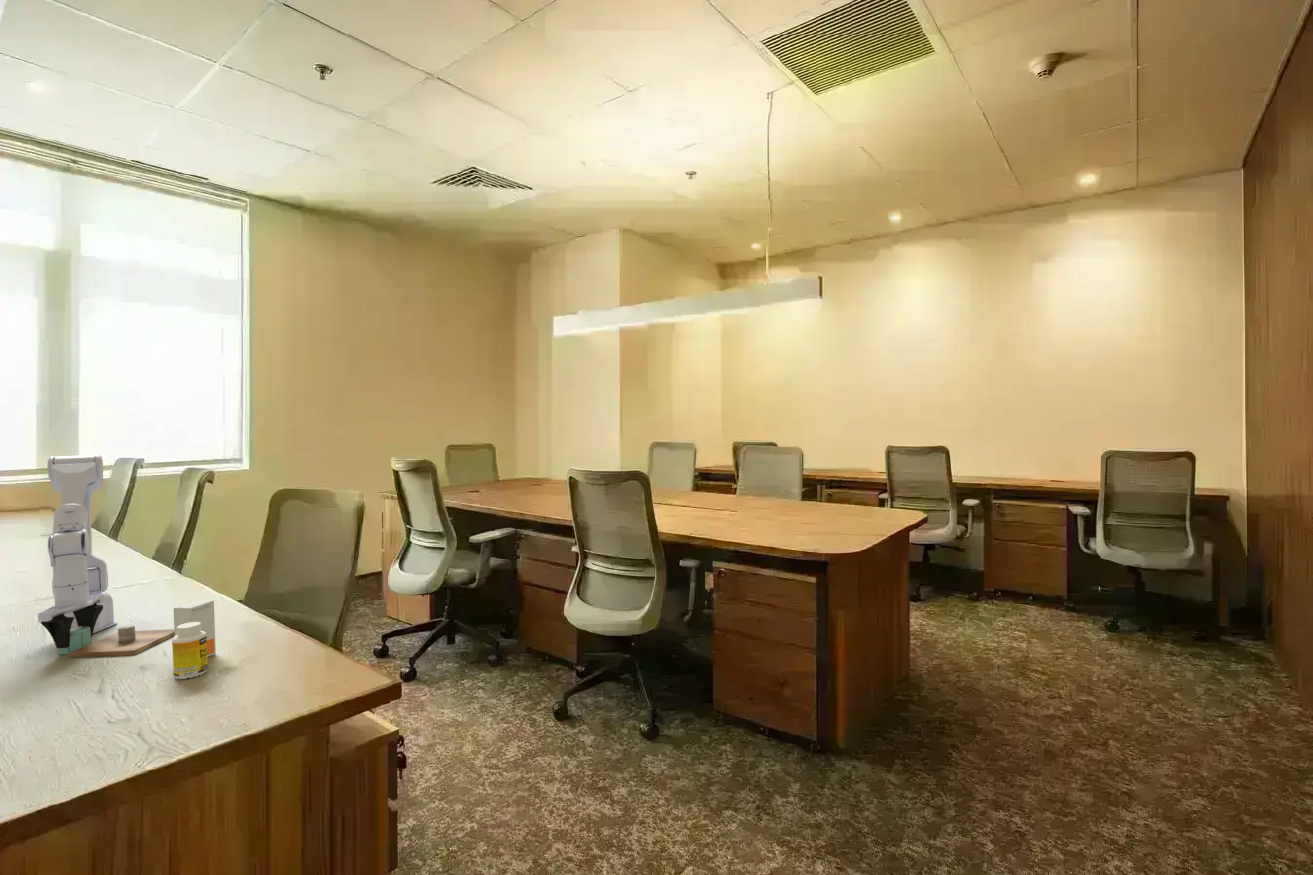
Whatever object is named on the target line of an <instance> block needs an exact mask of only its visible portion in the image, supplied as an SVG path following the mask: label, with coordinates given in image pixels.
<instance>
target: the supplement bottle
mask: <svg viewBox="0 0 1313 875" xmlns="http://www.w3.org/2000/svg"><path fill="white" fill-rule="evenodd" d="M201 628H202V627H201V623H200V622H190V623H185V624H181V625H179V626H177V635H176V636H173V637H172V639H171V643H172V647H171V648H172V665H173V668H172V669H173V676H174V678H175V680H188V679H187V678H190V679H193V677H194V678H196V677H200V676H202V675H204V674H206V672H207V671H208V669H209V668H208V667H209V666H208V665H209V664H208V662H209V661H208V657H207V638H206V632H204V631H201ZM199 675H200V676H199Z"/></svg>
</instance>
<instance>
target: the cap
mask: <svg viewBox="0 0 1313 875" xmlns="http://www.w3.org/2000/svg"><path fill="white" fill-rule="evenodd" d="M90 644H92V638H91V630H90V626H78V627H73V628H71V630H70V644H69V647H67V648H57V649H58V650H57V651H58V655H69V653H71V652H73V651H75V650H78V649H80V648H82V647H85V646H87V645H90Z"/></svg>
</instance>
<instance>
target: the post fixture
mask: <svg viewBox="0 0 1313 875" xmlns="http://www.w3.org/2000/svg"><path fill="white" fill-rule="evenodd" d="M174 637H175V632H174V628H173V629H146V630H145V629H144V630H136V626H135V625H126V626H121V627H119V628H117V632H116V633H114V634H111V635H108V636H106V637H103V638H101V639H99V640H97V641H95V642H91V644H90V645H87V646H85V647H82V648H80V649H78V650H75V651H73V652H71V653H69V654H68V658H69V659H72V658H73V659H74V658H92V657H115V656H119V657H120V656H136V655H139V653H141V652H143V651H146V650H147V649H149V648H152V647H153V646H156V645H158V644H160V642H161V643H162V641H163V642H164V640H165V641H166V639H167V640H169V639H171V638H174Z"/></svg>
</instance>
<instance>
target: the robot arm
mask: <svg viewBox="0 0 1313 875" xmlns="http://www.w3.org/2000/svg"><path fill="white" fill-rule="evenodd" d="M47 476H48V479H49V480H50V484H51V486H52V488H53V490H54V491H55V492H58V493H60V494H61V495H60V496H61V506H59V507H57V508H56V509H55V510H54V512H53V524H52V525H53V526H52V535H49V536H48V538H47V552H48V555H49V560H50V567H51V568H52V579H51V582H52V584H51V585H52V586H51V588H52V596H53V597H54V605H52V606H50V607H49V608H47V609H45V610H43V611H40V612H38V613H37V619H38V621H37V622H38V623H40V624H41V625H42V626H43V627H44V628H45V629H46V630H47V632H48V633H49V634H50V636H51V638H52V640H53V642H54V644H55V646H56V649H58V648H67V647H69V644H70V630H71V628H73V627H78V626H90V630H91V639H92V637H93V634H95V633H98V632H100V631H102V630H105V629H108V628H110V627H113V626H115V625H117V624H118V621H115V617H114V616H115V614H114V601H113V598H112V595H111V594H110V593H109V592H106V591H107V590H108V588H109V573H108V572H109V571H108V567H107V562H105V560H104V559H102V558H100V557H97V556H95V555H93V547H92V546H93V544H92V543H93V542H92V497H93V495H94V492H95V491H97V490H100V489H101V488H102V487H103V484H104V461H103V456H102V455H100V454H98V453H97V454H87V455H65V456H55V455H51V456H50V457H49V458H48V460H47Z"/></svg>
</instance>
